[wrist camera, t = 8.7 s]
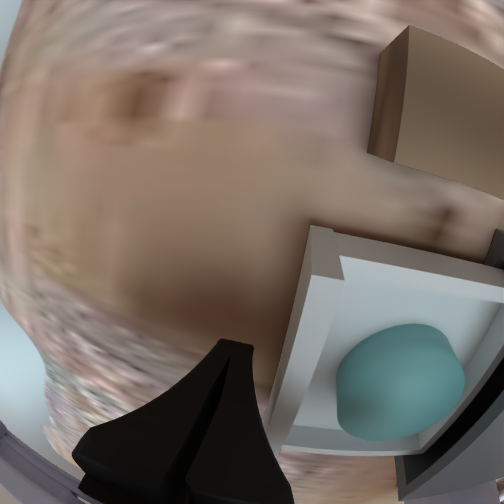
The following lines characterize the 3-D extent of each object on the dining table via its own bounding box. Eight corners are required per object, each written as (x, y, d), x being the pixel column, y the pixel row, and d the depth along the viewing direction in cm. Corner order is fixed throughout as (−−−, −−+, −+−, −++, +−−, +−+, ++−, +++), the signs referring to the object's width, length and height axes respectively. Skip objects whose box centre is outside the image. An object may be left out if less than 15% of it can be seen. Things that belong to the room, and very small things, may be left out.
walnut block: (456, 178, 9) (504, 200, 6) (367, 152, 10) (394, 162, 7) (469, 86, 8) (519, 79, 5) (380, 53, 8) (409, 24, 5)
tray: (417, 429, 14) (425, 477, 10) (263, 418, 15) (252, 472, 11) (515, 270, 9) (559, 315, 6) (310, 224, 10) (311, 274, 7)
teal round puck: (341, 417, 13) (341, 448, 11) (328, 338, 11) (329, 373, 9) (442, 395, 11) (452, 424, 10) (457, 309, 10) (476, 339, 8)
